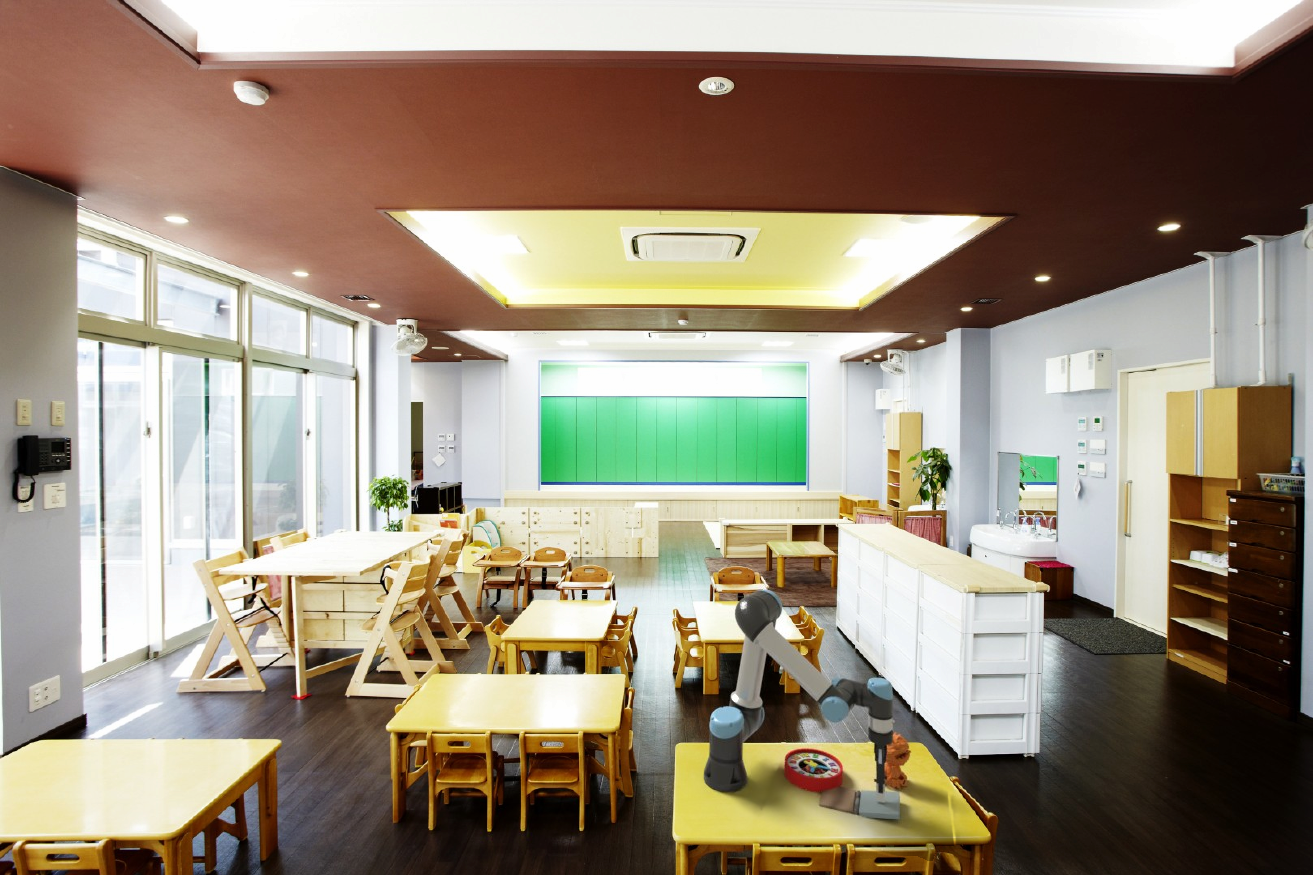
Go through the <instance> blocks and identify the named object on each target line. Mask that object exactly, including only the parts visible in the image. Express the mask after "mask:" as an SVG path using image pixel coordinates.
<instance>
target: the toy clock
mask: <svg viewBox="0 0 1313 875" xmlns="http://www.w3.org/2000/svg"><path fill="white" fill-rule="evenodd" d="M800 765H806V766H804V767H802V768H801V767H800ZM824 770H827V771H824ZM783 772H784V775H785V776H784V777H785V778H786V779H787V780H788V781H789V783H791V784H792V785H794V786H795V787H798V788H799V789H802V790H804V791H805V790H806V791H808V792H813V793H822V790H830V789H834V788H836V787H838V786H841V787H842V785H843V782H844V781H843V777H844V775H843V774H844V766H843V763H842V762H841V761H840V760H839V759H838V758H837V757H836V756H834V755H833V754H832V753H829V752H826V751H824V750H820V749H816V748H809V747H808V748H807V747H806V748H804V747H803V748H796V749H793V750H790V751H789V752H787V754H785V757H784V771H783Z"/></svg>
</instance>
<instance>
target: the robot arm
mask: <svg viewBox="0 0 1313 875" xmlns="http://www.w3.org/2000/svg"><path fill="white" fill-rule="evenodd" d="M782 612H783V604H782V600H781V599H780V597H779V596H778V595H777V594H776V593H775V592H774V591H772V590H769V589H758V590H756V591H754V592H753V593H752V594H749V595H747V596H745V597H743V598H741V599H740V600H739V601H738V602H737V604H736V605H735V609H734V617H735V622H736V623H737V625H738V627H739V629H740V630H741V632H742V633H743V635H744V641H743V646H742V652H741V658H740V663H739V664H740V665H739V670H738V677H737V683H736V688H735V691H732V692H731V694H730V698H729V700H730V701H729V706H726V705H725V706H723V707H722V706H720V707H718V708H716V709H715V710H714V711H712V713H711V715H710V719H709V720H710V721H709V742H708V744H709V747H708V748H709V749H708V750H709V754H708V758H707V761H706V764H705V767H704V769H703V780H704V783H705V784H706V785H707V786H708V787H710V788H711V789H713V790H717V791H719V792H724V793H725V792H727V793H730V792H731V793H733V792H737V791H741V790H742V789H744V788H745V787H746V786H747V784H748V774H747V770H746V767H745V763H744V758H743V753H744V752H743V750H744V742H745V741H746V740H748V738H750V737H751V736H752V735H753V734H754V733H755V732H757V731H758V730H759V729H760V728H761V726H762V724H763V723H764V720H765V709H764V707H763V700H762V698H761V696H760V695H761V694H760V693H761V688H762V681H763V676H764V670H765V664H766V658H767V654H768V655H769V657H771V658H772V659H773V660H774V661H775V662H776V663H777V664H778V665H779V666H780V667H781V668H782V669H783V670H784V671H785V672H786V673H787V674H788V675H789V676H791V678H792V679H794V680H795V682H796V683H797V684H798V685H800V686H801V688H803V690H804V691H806V692H807V693H808V694H809V695H810V696H811V697H812V698H813V700H815V701H816V702H817V703H818V705H820V709H821V713H822V715H823V717H824V718H825V719H826V720H827V721H828V722H831V723H834V724H837V723H840V722H842V721H844V720H845V719H846V718H847V717H848V716H849V713H850V712H851V710H852V709H853V708H854V707H855V706H857V707H862V708H865V709H866V708H867V709H868V710H867V712H868V713H867V726H868V729H867V732H868V733H867V734H868V735H867V736H868V740H869V741H870V742H872V743H873V745H874V746H873V753H874V761H875V769H876V770H875V772H876V774H875V776H876V777H875V778H874V779H873V782H874V783H875V785H876V786H875V791H876V801H878V802H883V803H885V791H886V784H885V780H887V777H885V763H886V755H887V745H890V744H891V743H892V742H893V734H894V731H893V729H894V724H895V723H896V722H895V719H893V716H894V714H893V711H894V709H893V708H894V707H893V706H894V705H893V704H894V695H893V685H892V682H891V681H889V680H888V679H886V678H884V677H883V678H882V677H871V678H869V679H868V681H867V683H866V682H861V681H859V680H858V681H857V680H853V679H848V678H846V677H838V676H837V677H834V678H833V679H832V680H831V681H830V680H828V678H827V677H826V676H824V675H823V673H822V672H820V671H819V669H817V668H816V667H815V666H814V665H813V664H812V663H811V661H809V660H808V659H807V658H806V657H805V656H804V655H803V654H802V653H801V652H800V651H799V650H797V648H796V647H794V645H793V644H791V643H790V642H789V640H787V639H786V637H784V636H783V635H782V634H781V633H780V632H779V631H778V630H777V629H776V624H777V620H778V619H779V618H780V617H781V615H782Z"/></svg>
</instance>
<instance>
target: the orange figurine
mask: <svg viewBox="0 0 1313 875" xmlns="http://www.w3.org/2000/svg"><path fill="white" fill-rule="evenodd" d="M901 735H902V733H901V734H900V733H898V734H897V731H895V732H893V742H892V743H891V744H890V745H887V755H886V763H885V777H887V780H885V785H887V786H889V787H892V788H893V789H895V788H897V789H898V790H901V787H906V788H907V784H908V780H907V779H908V776H907V774H905V772H904V771H902V769H901V766H902V767H903V766H905V764H906V763H907V762H908V761H909V760H910V756H911V753H912V750H910V745H909V743H908V740H907V739H906V738H904V737H903V736H901Z"/></svg>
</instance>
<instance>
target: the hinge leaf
mask: <svg viewBox="0 0 1313 875" xmlns="http://www.w3.org/2000/svg"><path fill="white" fill-rule="evenodd" d="M860 792H861V796H860V799H859V798H856V797H855V799H854V806H855V805H858V806H859V815H858V816H860V817H865V818H867V819H868V818H869V819H887V820H900V819H901V817H900V816H901V814H900V812H901V810H900V809H901V808H900V805H901V804H900V802H901V801H900V798H901V796H900V792H899V791H886V790H885V803H883V802H878V801H876V790H866V789H864V790H862V789H861V790H860Z"/></svg>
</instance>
